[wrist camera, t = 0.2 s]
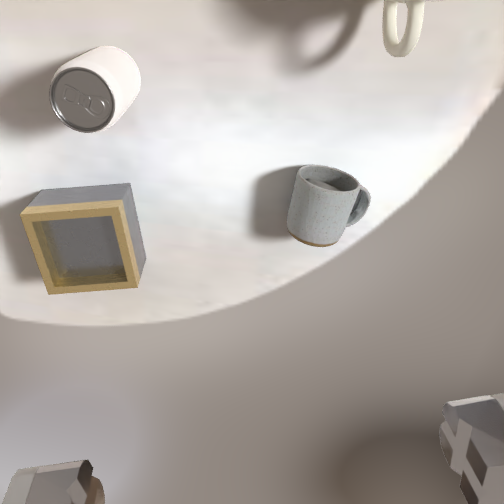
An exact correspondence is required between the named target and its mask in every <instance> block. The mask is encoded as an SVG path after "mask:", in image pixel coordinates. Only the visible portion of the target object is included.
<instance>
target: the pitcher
mask: <svg viewBox="0 0 504 504" xmlns="http://www.w3.org/2000/svg"><path fill="white" fill-rule="evenodd" d="M426 1H442V0H384V8H383V24H382V28H383V41H384V46H385V48H386V50H387V52H388V53H389V54H390V55H391V56H394V57H405V56H406V55H408V54H409V53H411V52H412V51H413V49H414V48H415V46H416V44H417V42H418V40H419V36H420V33H421V29H422V23H423V15H424V5H425V2H426ZM398 2H399V3H406V5H407V8H408V16H407V24H406V29H405V33H404V36H403V38H402V40H401V42H400V43H399V41H398V37H397V28H396V15H397V5H398Z"/></svg>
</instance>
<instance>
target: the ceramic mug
mask: <svg viewBox="0 0 504 504" xmlns="http://www.w3.org/2000/svg"><path fill="white" fill-rule="evenodd" d="M360 190H361V191H362V196H361V199H360V202H359V204H358V206H357V208H356V209H355V212H354V213H353V214H352V215H350V213H351V211H352V208H353V206H354V204H355V201H356V198H357V196H358V193H359V191H360ZM370 199H371V198H370V194H369V192H368V190H367V189H366V188H365V187H363V186H362V185H360V183H359V182H358V181H357V180H356V179H355V178H354V177H353V176H351V175H350V174H348V173H346V172H343V171H341V170H339V169H336V168H331V167H328V166H322V165H306V166H303V167H301V168H300V169H299V170H298V171H297V175H296V180H295V184H294V189H293V193H292V198H291V203H290V207H289V211H288V215H287V229H288V231H289V233H290V234H291V235H292V236H293V237H294V238H295V239H297V240H298V241H300V242H302V243H304V244H307V245H311V246H315V247H326V246H331V245H333V244H335V243H337V242H338V240H339V239H340V237H341V236H342V234H343V232H344V230H345V227H348V226H351V225H353V224H355V223H357V222H358V221H359V220H360V219H361V218H362V217H363V216H364V214H365V213H366V211H367V209H368V207H369V204H370Z"/></svg>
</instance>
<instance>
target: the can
mask: <svg viewBox="0 0 504 504" xmlns="http://www.w3.org/2000/svg"><path fill="white" fill-rule="evenodd" d="M140 85H141V76H140V72H139V69H138V66H137V65H136V63H135V61H134V60H133V59H132V58H131V56H130V55H128V54H127V53H126V52H125V51H123V50H121V49H119V48H116V47H113V46H101V47H97V48H95V49H92V50H90V51H88V52H86V53H84V54H82V55H80V56H78V57H76V58H74V59H72V60H70V61H68V62H66V63H65V64H63V65H62V66H61V67H60V68H59V69H58V70H57V71H56V73H55V74H54V76H53V79H52V82H51V86H50V91H49V97H50V103H51V106H52V108H53V111H54V112H55V114H56V116H57V117H58V118H59V119H60V120H61V121H62V122H63V123H64V124H65V125H66V126H68V127H70V128H71V129H73V130H76V131H79V132H84V133H92V132H100V131H103V130H106V129H108V128H110V127H111V126H113V125H114V124H115V123H116V122H117V121H118V120H119V118H120V117H121V116H122V115H123V114H124V112H125V111H126V110H127V109H128V107H129V106H130V105H131V104H132V102H133V101H134V100H135V99H136V97H137V95H138V93H139V90H140Z"/></svg>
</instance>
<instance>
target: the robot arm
mask: <svg viewBox="0 0 504 504" xmlns="http://www.w3.org/2000/svg"><path fill="white" fill-rule="evenodd" d="M442 413H443V415H444V417H445V419H446V420H445V421H444V422H443V423H442V424H441V425H440V434H439V436H440V441H441V447H442V450H443V452H444V455H445V458H446V460H447V462H448V464H449V466H450V468H451V469H453V470H454V471H455V472H457V473H459V474H460V475H461V476H462V477H461V482H460V489H461V491H462V493H463V495H464V496H465V499H466V501H467V503H468V504H504V393H502V394H496V395H491V396H488V395H486V396H480V397H474V398H468V399H463V400H457V401H451V402H447V403H446V404H445V405H444V406H443V412H442ZM92 472H93V467H92V465H91V463H90V462H89V460H81V461H74V462H67V463H60V464H53V465H46V466H37V467H31V468H25V469H19V470H18V471H17V472H16V473H15V475H14V476H13V477H12V479H11V482H10V484H9V487H8V490H7V492H6V495H5V498H4V500H3V503H2V504H105V495H104V490H103V486H102V484H101V482H100V480H99V479H98V478H96V477H94V476H92Z"/></svg>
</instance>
